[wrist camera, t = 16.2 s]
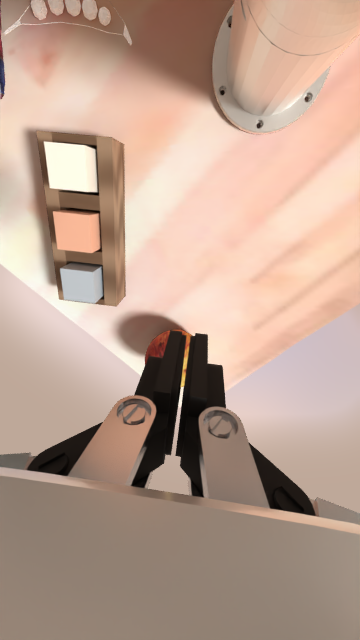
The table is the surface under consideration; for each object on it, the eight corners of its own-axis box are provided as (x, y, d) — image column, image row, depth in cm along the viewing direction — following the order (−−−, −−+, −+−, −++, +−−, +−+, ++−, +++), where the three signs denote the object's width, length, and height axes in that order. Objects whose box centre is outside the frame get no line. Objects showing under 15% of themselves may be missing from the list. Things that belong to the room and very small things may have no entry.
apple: (183, 308, 42) (176, 339, 34) (214, 347, 45) (215, 385, 36) (142, 335, 46) (127, 370, 37) (173, 369, 48) (165, 410, 39)
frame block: (56, 138, 33) (35, 130, 29) (124, 144, 33) (112, 137, 29) (72, 289, 43) (58, 299, 39) (125, 295, 42) (116, 306, 38)
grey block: (77, 259, 38) (60, 268, 34) (106, 262, 38) (93, 272, 34) (79, 287, 40) (63, 299, 36) (107, 291, 40) (95, 303, 36)
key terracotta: (72, 209, 35) (52, 211, 31) (104, 212, 35) (89, 215, 31) (75, 242, 37) (57, 249, 33) (105, 245, 37) (91, 253, 33)
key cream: (66, 148, 32) (44, 141, 28) (101, 152, 32) (84, 145, 27) (70, 188, 34) (49, 188, 30) (103, 192, 34) (87, 191, 29)
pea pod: (135, -1, 27) (131, -12, 26) (133, 55, 29) (129, 48, 28) (0, -19, 28) (-11, -31, 26) (7, 37, 30) (-3, 29, 28)
